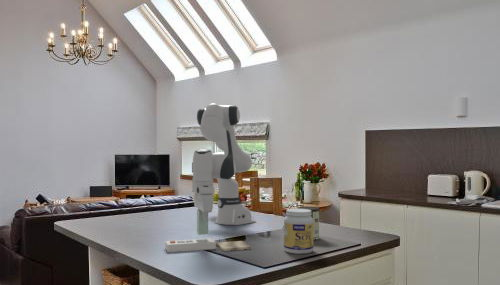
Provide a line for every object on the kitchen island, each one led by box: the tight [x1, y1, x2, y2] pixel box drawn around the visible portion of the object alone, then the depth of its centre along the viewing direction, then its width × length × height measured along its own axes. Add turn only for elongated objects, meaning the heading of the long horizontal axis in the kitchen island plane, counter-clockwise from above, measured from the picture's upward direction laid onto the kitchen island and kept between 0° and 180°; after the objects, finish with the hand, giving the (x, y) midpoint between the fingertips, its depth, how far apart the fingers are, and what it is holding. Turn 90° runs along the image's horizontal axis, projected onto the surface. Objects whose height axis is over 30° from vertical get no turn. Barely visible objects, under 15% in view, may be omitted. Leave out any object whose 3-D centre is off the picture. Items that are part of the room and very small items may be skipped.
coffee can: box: [296, 205, 320, 241], centre depth 217 cm, size 10×10×14 cm
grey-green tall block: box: [196, 208, 209, 236], centre depth 194 cm, size 4×4×12 cm
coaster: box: [216, 240, 252, 252], centre depth 196 cm, size 12×12×1 cm
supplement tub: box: [283, 208, 314, 255], centre depth 190 cm, size 12×12×17 cm
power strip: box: [164, 238, 217, 253], centre depth 193 cm, size 20×7×4 cm, turn 108°
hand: (202, 220), depth 194 cm, fingers closed on grey-green tall block, 4 cm apart
